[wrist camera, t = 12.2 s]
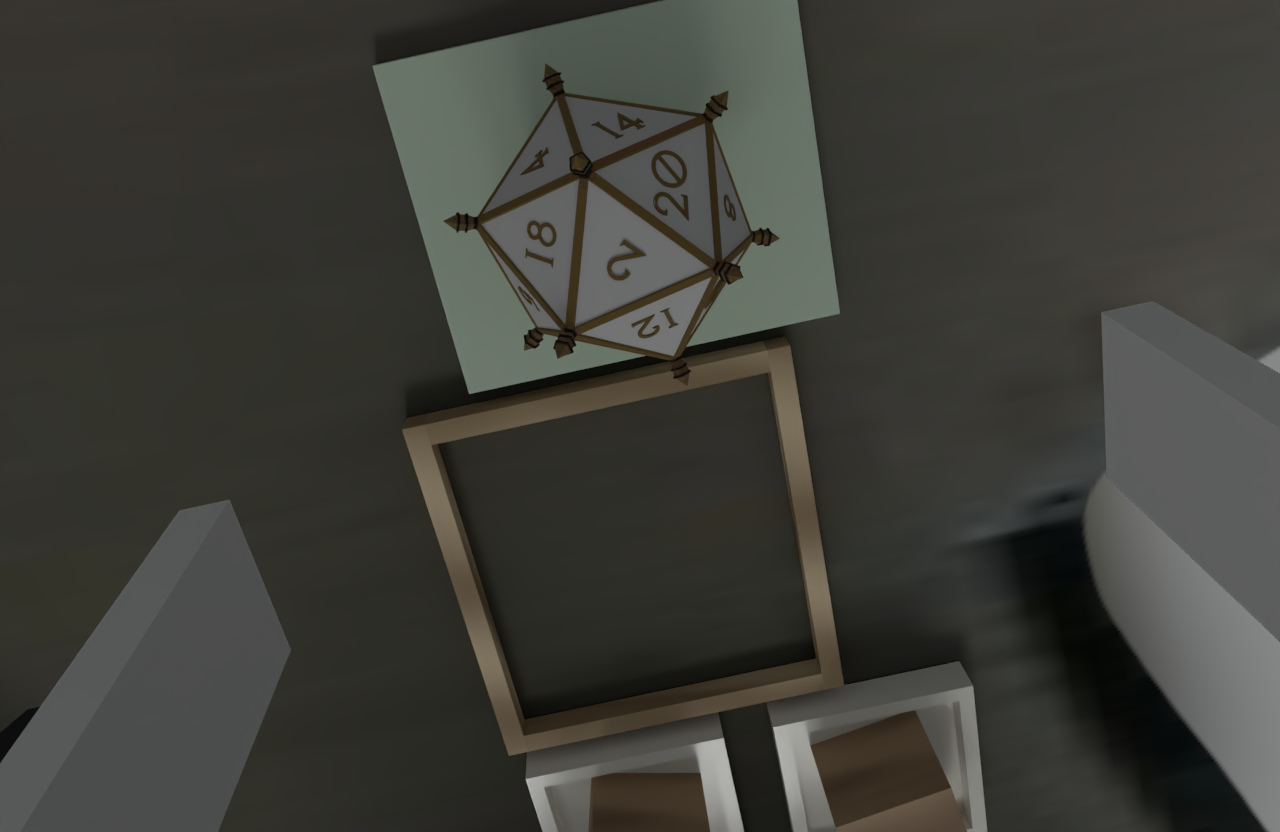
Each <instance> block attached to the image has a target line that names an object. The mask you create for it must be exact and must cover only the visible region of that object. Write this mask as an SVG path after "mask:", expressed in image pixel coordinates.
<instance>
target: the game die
mask: <svg viewBox="0 0 1280 832" xmlns="http://www.w3.org/2000/svg"><path fill="white" fill-rule="evenodd" d="M560 75H561V72H559V73H558V72H557V71H556V70H554V69H553V68H551V67H550V66H549V65H547V64H546V63H545V73H544V79H543V81H542V82H545V84H546V86H547V88H546V89H547V90H549V91H550V92H551V93H552V94H553V100H552V102H551V103H550V105H549V106H548V108H547V109H546V111H545V112H544V114H543V116H542V117H541V119H540V120H539V122H538V123H537V125H536V126H535V128H534V129H533V131H532V133H531V134H530V136H529V137H528V139H527V140H526V142H525V143H524V145H523V146H522V148H521V150H520V151H519V153H518V154H517V156H516V157H515V159H514V160H513V162H512V164H511V165H510V167H509V168H508V170H507V171H506V173H505V174H504V176H503V177H502V179H501V181H500V182H499V184H498V185H497V187H496V188H495V190H494V191H493V193H492V195H491V196H490V198H489V199H488V201H487V202H486V204H485V205H484V207H483V208H482V210H481V212H480V213H479V215H478V216H477V217H472V216H469V215H468V213H466V214H465V215H463V214H459V212H457V213H456V215H454V216H452V217H450V218H448V219H446V220H444V221H443V222H445V223H446V224H448V225H449V226H450V227H452V228H453V229H455V230H456V233H459V231H465V233H467V231H468V230H472V229H475V230H477V231H478V232H479V234H480V236H481V237H482V239H483V241H484V242H485V244H486V246H487V247H488V249H489V251H490V252H491V254H492V256H493V257H494V259H495V261H496V262H497V264H498V266H499V267H500V269H501V271H502V272H503V274H504V276H505V277H506V279H507V281H508V282H509V284H510V286H511V287H512V289H513V291H514V292H515V294H516V296H517V297H518V299H519V301H520V302H521V304H522V306H523V307H524V309H525V311H526V312H527V314H528V316H529V317H530V319H531V321H532V322H533V324H534V326H535V328H534V329H532V330H528V334H527V335H524V341H525V343H524V351H525V350H528V349H532V348H534V349H535V348H537V347H538V346H539V345H540V344H539V343H540V342H541V341H543V335H544V334H546V335H551V336H556V337H558V339H557V340H556V341H555V344H554V347H553V349H554V350H555V351H556V355H557V359H559V358H561V357H563V356H565V355H568V354H571V353H573V352H574V351H573V347H575V346H576V343H575V341H579V342H584V343H589V344H594V345H598V346H603V347H608V348H612V349H617V350H622V351H627V352H631V353H636V354H641V355H646V356H650V357H655V358H660V359H665V360H669V361H670V362H671V367H672V369H671V370H670V371H671V372H672V371H673V374H674V377H673V379H677V380H679V381H680V382H682V383H683V384H685V385H687V386H688V380H689V373H690V372H691V370H689V369H688V367H687V365H688V364H687V363H686V362H684V361H683V360H682V359H681V354H682V353H683V351H684V349H685V348H686V346H687V345H688V343H689V341H690V340H691V338H692V337H693V335H694V334H695V332H696V330H697V329H698V327H699V326H700V324H701V322H702V321H703V319H704V318H705V316H706V314H707V313H708V311H709V310H710V308H711V306H712V305H713V303H714V302H715V300H716V299H717V297H718V295H719V294H720V292H721V291H722V289H723V287H724V286H725V284H726V283H727V284H728V285H730V284H731V283H733V282H735V281H737V280H739V279H742V278H744V277H743V275H742V273H741V271H740V267H741V266H738V264H739V262H740V260H741V259H742V257H743V256H744V254H745V252H746V251H747V249H748V248H749V246H750V244H751V243H752V242H753V243H756V244H757V245H758V246H759V245H764V246H770V244H771V243H773V242H775V241H776V240H778V239H780V238H779V237H777V236H776V235H775V234H774V233H772V232H771V231H770V229H769V228H766V229H762V228H759V230H756V231H752V230H751V228H750V225H749V222H748V219H747V217H746V214H745V211H744V208H743V206H742V203H741V200H740V198H739V195H738V192H737V189H736V187H735V184H734V181H733V178H732V176H731V173H730V170H729V167H728V165H727V162H726V159H725V156H724V154H723V151H722V148H721V145H720V143H719V140H718V137H717V134H716V132H715V129H714V126H713V120H714V119H716V118H717V117H721V116H722V113H723V111H724V110H728V108H727V100H728V92H729V90H728V91H726V92H723V93H721V94H719V95H717V96H715V95H713V96H711V97H710V98H711V100H710V102H709V103H706V109H705V111H704V113H703V114H702V113H695V112H688V111H682V110H675V109H669V108H662V107H655V106H649V105H642V104H636V103H629V102H623V101H616V100H609V99H603V98H596V97H590V96H583V95H576V94H570V93H565V91H564V88H563V83H564V80H563V81H562V79H561V77H560Z"/></svg>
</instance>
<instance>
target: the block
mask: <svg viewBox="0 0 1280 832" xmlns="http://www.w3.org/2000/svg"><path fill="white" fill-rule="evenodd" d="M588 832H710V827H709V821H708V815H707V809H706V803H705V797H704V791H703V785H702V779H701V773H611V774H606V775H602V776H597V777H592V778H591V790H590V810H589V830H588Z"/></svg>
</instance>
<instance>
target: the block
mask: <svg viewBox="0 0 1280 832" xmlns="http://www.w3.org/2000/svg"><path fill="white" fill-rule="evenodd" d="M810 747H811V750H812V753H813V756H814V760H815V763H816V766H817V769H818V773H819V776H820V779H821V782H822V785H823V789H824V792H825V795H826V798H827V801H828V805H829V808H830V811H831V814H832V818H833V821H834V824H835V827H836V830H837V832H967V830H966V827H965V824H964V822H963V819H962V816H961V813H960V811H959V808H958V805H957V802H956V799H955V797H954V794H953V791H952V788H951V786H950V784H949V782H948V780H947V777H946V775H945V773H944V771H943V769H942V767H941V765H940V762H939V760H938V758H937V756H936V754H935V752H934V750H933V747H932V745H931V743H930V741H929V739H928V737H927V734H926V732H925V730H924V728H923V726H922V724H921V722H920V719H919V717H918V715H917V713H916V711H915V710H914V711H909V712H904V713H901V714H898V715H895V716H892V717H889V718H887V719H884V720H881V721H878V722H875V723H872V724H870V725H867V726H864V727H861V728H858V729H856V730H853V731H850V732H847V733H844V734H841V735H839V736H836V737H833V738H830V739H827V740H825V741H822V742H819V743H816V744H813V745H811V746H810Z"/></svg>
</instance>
